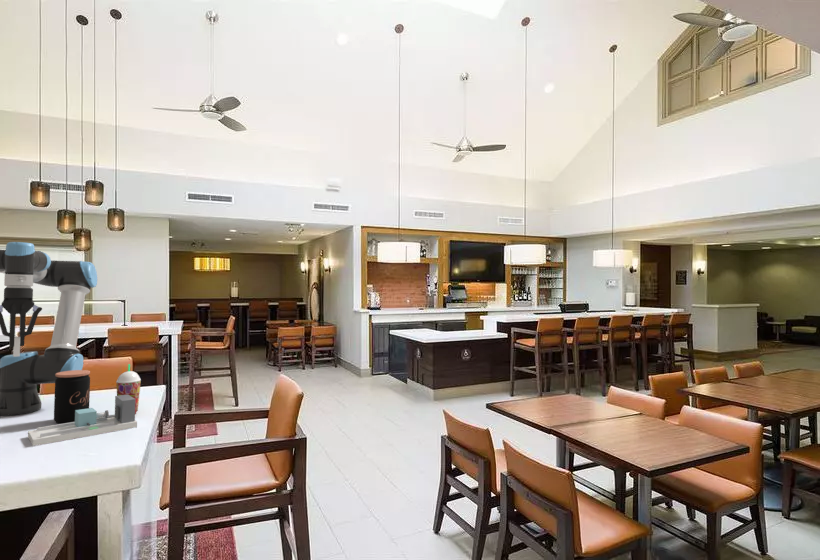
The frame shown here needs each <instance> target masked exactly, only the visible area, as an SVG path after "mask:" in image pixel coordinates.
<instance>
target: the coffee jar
mask: <svg viewBox="0 0 820 560" xmlns="http://www.w3.org/2000/svg"><path fill="white" fill-rule="evenodd" d="M90 375H91V371H90V370H88V369H82V370H72V371H64V372H58V373H56V374H55V376H56V377H57V379H56V380H55V383H54V401H53V402H54V404H53V405H54V406H53V421H54V422H55V423H56V424H63V423H70V422H75V410H81V409H88V408H90V397H91V396H90V393H91V392H90V391H91V377H90Z"/></svg>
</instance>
